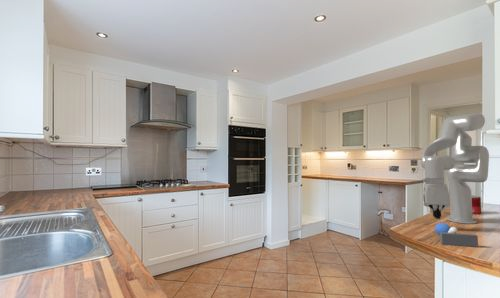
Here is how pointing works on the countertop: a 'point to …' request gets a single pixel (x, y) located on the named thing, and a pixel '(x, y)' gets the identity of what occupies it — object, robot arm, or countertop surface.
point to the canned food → (476, 204)
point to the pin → (452, 230)
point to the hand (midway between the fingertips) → (437, 218)
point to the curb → (459, 239)
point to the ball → (442, 228)
